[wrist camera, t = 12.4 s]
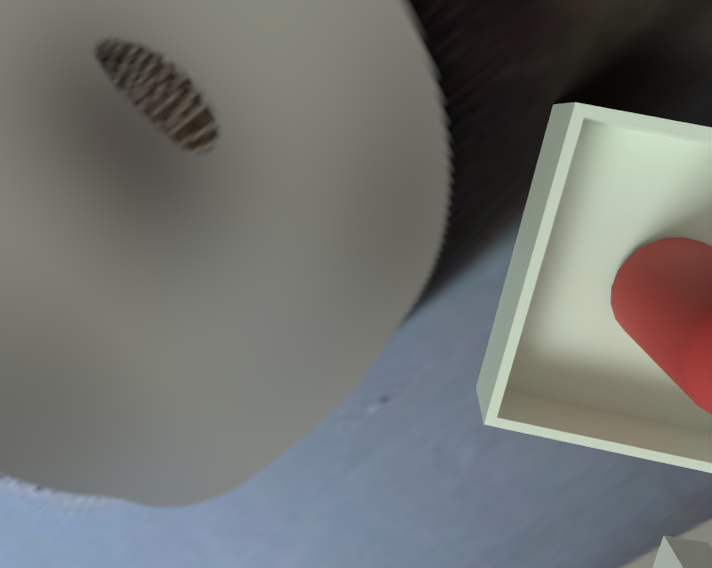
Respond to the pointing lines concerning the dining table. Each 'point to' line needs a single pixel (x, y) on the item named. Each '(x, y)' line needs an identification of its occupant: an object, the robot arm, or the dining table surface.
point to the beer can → (670, 310)
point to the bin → (597, 287)
